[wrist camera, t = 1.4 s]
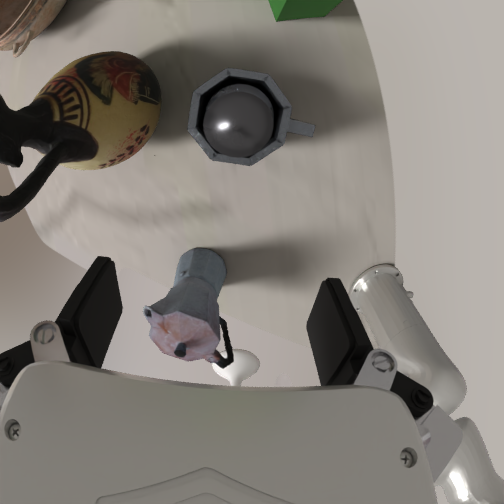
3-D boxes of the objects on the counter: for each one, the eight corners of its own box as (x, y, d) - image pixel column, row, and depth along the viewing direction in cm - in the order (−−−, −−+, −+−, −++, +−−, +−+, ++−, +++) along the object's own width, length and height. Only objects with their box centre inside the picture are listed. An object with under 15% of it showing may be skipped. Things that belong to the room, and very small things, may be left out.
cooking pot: (16, -8, 13) (-19, -15, 2) (91, -58, 12) (61, -79, 2) (15, 81, 26) (-29, 88, 15) (92, 32, 25) (49, 19, 14)
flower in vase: (220, 374, 65) (218, 462, 44) (205, 348, 60) (197, 448, 38) (270, 366, 64) (279, 457, 43) (260, 339, 58) (269, 443, 37)
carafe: (301, 89, 33) (326, 84, 23) (286, 158, 39) (304, 180, 28) (207, 73, 31) (193, 60, 21) (196, 144, 37) (178, 161, 27)
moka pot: (184, 225, 43) (153, 309, 26) (254, 275, 49) (261, 367, 32) (155, 262, 47) (120, 347, 30) (221, 305, 53) (216, 394, 35)
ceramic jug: (73, 89, 30) (-83, 122, 4) (157, 43, 28) (17, -24, 2) (106, 178, 38) (-23, 293, 13) (191, 142, 37) (87, 238, 11)
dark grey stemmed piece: (278, 91, 25) (311, 79, 13) (265, 152, 29) (286, 191, 16) (211, 80, 24) (186, 60, 12) (201, 142, 28) (170, 175, 16)
